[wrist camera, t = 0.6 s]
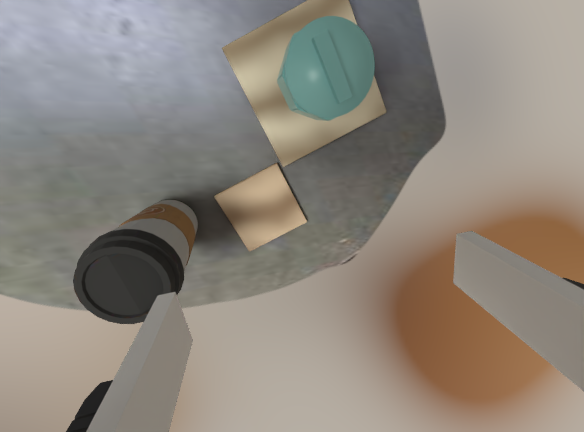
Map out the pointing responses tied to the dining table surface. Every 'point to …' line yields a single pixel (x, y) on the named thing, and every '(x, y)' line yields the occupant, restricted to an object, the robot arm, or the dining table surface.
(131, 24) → the dining table surface
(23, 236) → the dining table surface
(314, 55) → the cap
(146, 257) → the coffee cup
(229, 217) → the coaster
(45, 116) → the dining table surface
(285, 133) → the post base
